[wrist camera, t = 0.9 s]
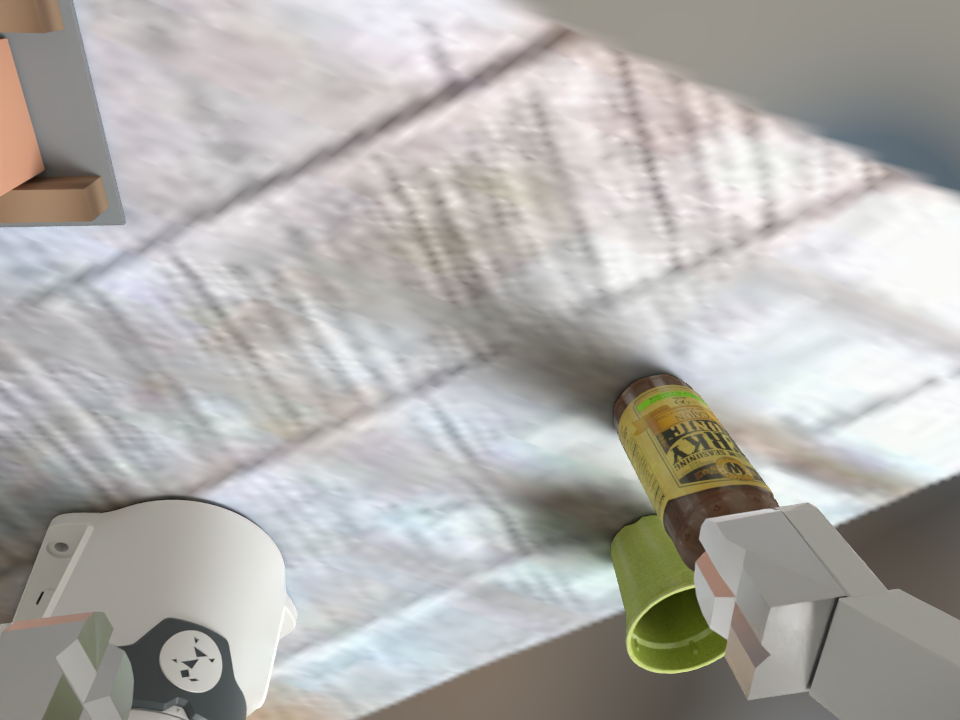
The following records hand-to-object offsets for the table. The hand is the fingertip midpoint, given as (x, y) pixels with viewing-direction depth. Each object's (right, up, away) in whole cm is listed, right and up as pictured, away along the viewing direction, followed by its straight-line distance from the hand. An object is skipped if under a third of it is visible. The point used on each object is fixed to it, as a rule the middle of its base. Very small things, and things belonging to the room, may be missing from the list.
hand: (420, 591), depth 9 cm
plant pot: (+14, -11, +45) cm, 49 cm away
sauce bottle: (+13, 0, +39) cm, 41 cm away
